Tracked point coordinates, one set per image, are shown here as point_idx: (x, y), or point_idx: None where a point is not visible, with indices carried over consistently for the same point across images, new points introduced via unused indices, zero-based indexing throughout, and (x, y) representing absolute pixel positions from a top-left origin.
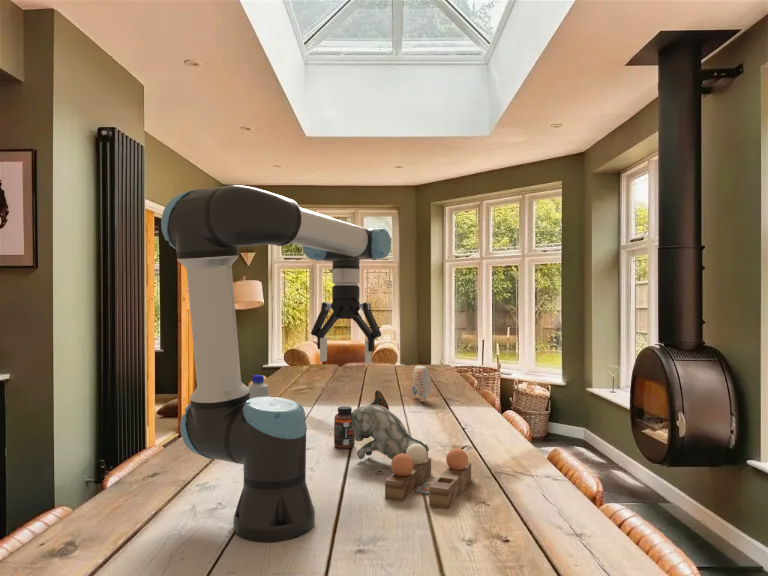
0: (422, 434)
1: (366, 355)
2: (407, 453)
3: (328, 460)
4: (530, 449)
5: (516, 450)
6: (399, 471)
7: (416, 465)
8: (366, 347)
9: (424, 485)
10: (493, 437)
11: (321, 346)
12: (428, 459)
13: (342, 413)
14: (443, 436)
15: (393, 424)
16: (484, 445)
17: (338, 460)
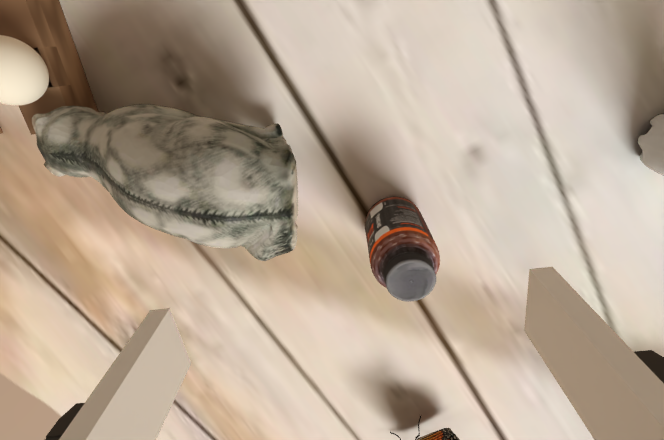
0: (278, 385)
1: (125, 357)
2: (10, 41)
3: (359, 90)
4: (24, 384)
5: (40, 367)
6: None
7: None
8: (82, 416)
9: None
10: None
11: (620, 362)
12: (27, 119)
13: (403, 252)
14: (228, 390)
15: (104, 152)
16: None
17: (334, 105)
